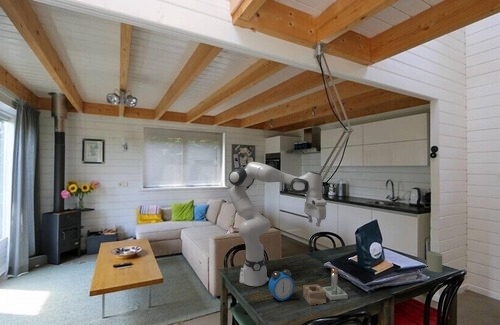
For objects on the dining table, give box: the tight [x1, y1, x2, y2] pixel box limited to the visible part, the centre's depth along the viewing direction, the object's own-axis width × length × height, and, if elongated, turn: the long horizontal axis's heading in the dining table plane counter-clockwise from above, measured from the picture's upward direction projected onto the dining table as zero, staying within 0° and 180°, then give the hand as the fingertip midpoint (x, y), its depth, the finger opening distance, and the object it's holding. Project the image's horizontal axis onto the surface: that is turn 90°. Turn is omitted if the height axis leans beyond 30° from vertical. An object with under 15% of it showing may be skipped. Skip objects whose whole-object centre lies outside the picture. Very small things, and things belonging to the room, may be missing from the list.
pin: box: [330, 267, 338, 295], centre depth 141 cm, size 3×3×14 cm
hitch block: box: [302, 283, 327, 306], centre depth 135 cm, size 9×9×6 cm
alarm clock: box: [268, 269, 295, 302], centre depth 137 cm, size 13×6×15 cm, turn 113°
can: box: [425, 250, 443, 274], centre depth 177 cm, size 9×9×12 cm
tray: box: [321, 285, 349, 302], centre depth 141 cm, size 10×10×2 cm
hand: (314, 224), depth 143 cm, fingers open, 8 cm apart
